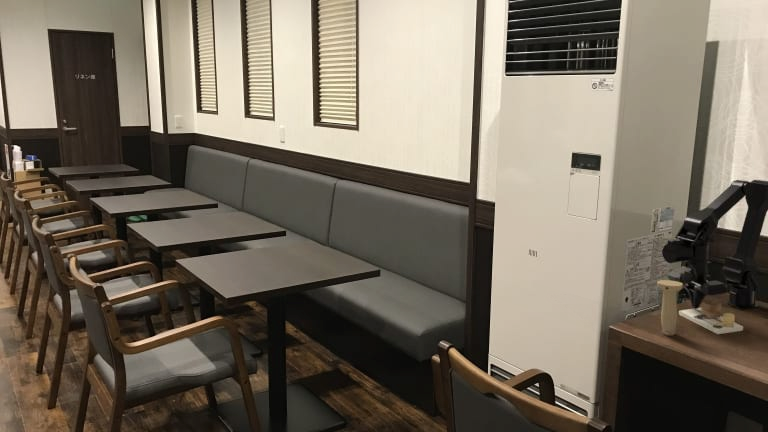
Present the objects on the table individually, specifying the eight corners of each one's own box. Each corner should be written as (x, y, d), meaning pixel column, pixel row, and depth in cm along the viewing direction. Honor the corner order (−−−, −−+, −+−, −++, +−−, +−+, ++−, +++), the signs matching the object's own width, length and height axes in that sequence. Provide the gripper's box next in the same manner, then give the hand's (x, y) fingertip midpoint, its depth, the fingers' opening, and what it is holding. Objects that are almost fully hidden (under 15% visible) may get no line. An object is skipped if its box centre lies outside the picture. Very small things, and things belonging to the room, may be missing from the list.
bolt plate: (702, 311, 187) (702, 297, 186) (742, 330, 171) (743, 315, 170) (678, 314, 185) (679, 300, 184) (717, 334, 169) (718, 319, 168)
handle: (678, 339, 168) (679, 287, 165) (653, 334, 172) (654, 283, 169) (683, 333, 171) (684, 282, 168) (659, 328, 175) (660, 279, 173)
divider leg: (713, 313, 180) (713, 300, 180) (720, 316, 177) (721, 303, 177) (693, 316, 179) (694, 303, 178) (700, 319, 176) (701, 306, 176)
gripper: (653, 254, 188) (652, 302, 191) (695, 269, 170) (693, 322, 173) (684, 250, 190) (683, 297, 193) (729, 265, 172) (727, 317, 175)
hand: (695, 308), depth 183 cm, fingers closed
